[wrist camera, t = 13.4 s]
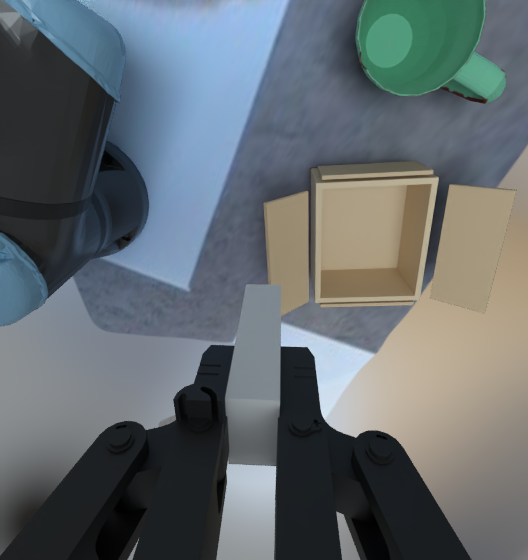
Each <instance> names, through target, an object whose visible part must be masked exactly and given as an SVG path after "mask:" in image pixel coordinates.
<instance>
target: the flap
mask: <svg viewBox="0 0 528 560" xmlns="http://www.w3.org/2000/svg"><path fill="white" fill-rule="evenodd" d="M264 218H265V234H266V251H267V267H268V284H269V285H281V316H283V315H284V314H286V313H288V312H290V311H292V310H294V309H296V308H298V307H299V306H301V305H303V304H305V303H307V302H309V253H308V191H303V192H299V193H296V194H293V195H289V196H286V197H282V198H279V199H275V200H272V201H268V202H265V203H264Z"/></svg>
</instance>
